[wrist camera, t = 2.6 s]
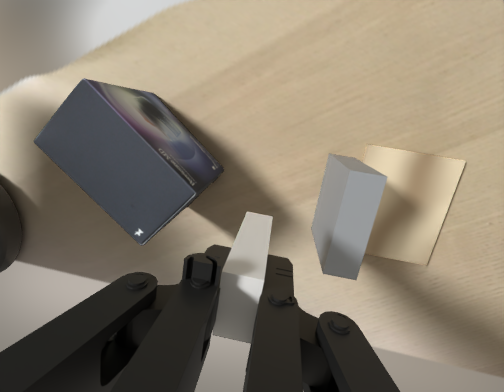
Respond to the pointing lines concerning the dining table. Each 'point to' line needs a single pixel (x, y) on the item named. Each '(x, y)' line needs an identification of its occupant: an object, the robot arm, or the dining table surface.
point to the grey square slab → (346, 214)
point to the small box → (128, 155)
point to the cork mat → (410, 202)
